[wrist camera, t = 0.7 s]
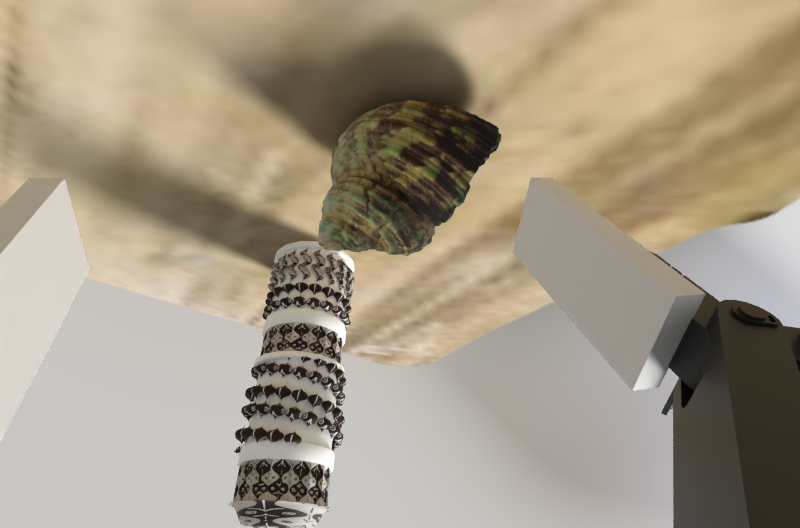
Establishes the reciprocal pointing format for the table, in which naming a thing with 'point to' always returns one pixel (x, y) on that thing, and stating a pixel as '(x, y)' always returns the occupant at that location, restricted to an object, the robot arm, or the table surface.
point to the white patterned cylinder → (296, 391)
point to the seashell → (401, 175)
